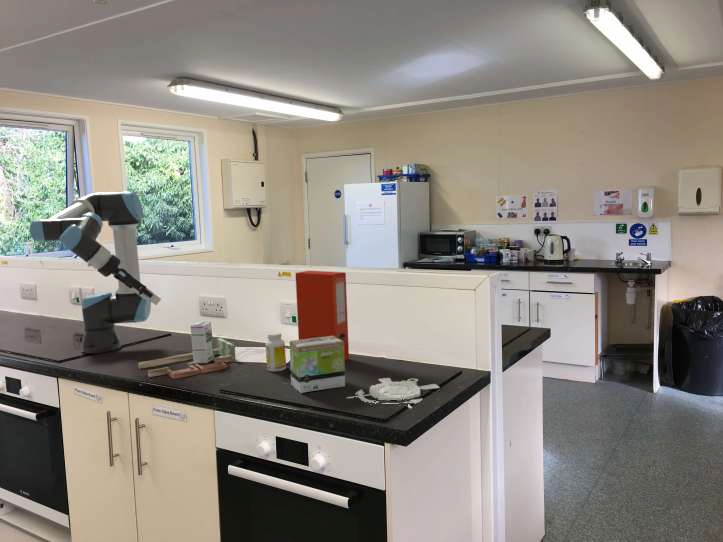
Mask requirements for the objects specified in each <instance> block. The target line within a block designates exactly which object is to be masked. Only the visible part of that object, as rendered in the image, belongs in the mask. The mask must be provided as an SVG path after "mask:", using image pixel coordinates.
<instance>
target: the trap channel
mask: <svg viewBox="0 0 723 542" xmlns="http://www.w3.org/2000/svg"><path fill="white" fill-rule="evenodd" d="M235 346H236V345H235V344H234V343H232V342H229V341H228V340H225V339H224V338H222V337H218V338H216V348H213V350H214V356H215V355H216V354H217V355H219V357H214V363H207V364H203V365H200V364H199V363H197V362H194V361H192V362H191V361H190V362H188V363H187V368H182V369H177V370H171V369H170V367H169V366H166V367H160V368H156V369H149V370H147V377H148V378H152V377H156V376H157V377H158V376H163V375H168V376H169V377H170V378H172V379H175V380H176V379H181V378H187V377H191V376H194V375H195V376H196V375H199V374H200V373H201V374H206V373H212V372H216V371H221V370H226V369H227V363H230V362H234V361H233V360H235V361H236V347H235ZM221 355H223V356H221ZM189 360H194V359H193V352H191V353H185V354H178V355H173V356H172V355H171V356H168V357H163V358H157V359H151V360H146V361H139V362H138V363H137V366H138V367H137V368H138V369H139V370H141V368H142V369H147V368H153V367H157V366H158V367H159V366H162V365H168V364H173V363H178V362H184V361H189ZM229 361H230V362H229ZM224 362H225V363H224Z"/></svg>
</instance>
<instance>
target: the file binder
mask: <svg viewBox="0 0 723 542" xmlns="http://www.w3.org/2000/svg"><path fill="white" fill-rule="evenodd" d="M346 274H347V273H346V272H341V271H340V272H339V271H322V270H304V271H299V272H298V271H297V272H295V290H296V291H295V292H296V310H297V312H296V313H297V315H296V316H297V331H298V335H297V336H298V340H302V339H310V338H318V337H326V336H335V337H336V338H338V339H340V340H342V341H343V342H344V358H345V361H348V360H349V359H350V351H349V350H350V349H349V325H348V301H347V300H348V299H347V297H348V296H347V277H346V276H347V275H346Z"/></svg>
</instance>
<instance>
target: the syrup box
mask: <svg viewBox="0 0 723 542" xmlns="http://www.w3.org/2000/svg"><path fill="white" fill-rule="evenodd" d="M189 327H190V336H191V345H192V348H191V350H192V353H193V359H192V360H193V362H197V364H209V363H210V362H211V361H213V360H215V355H214V350H213V349H214V341H213V331H212V322H211V321H197V322H196V323H193V324H191V325H190V326H189Z"/></svg>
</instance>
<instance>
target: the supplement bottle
mask: <svg viewBox="0 0 723 542" xmlns="http://www.w3.org/2000/svg"><path fill="white" fill-rule="evenodd" d="M267 339H268V340H267V341H265V357H266V369H267V371H269V372H274V373H276V372H277V373H278V372H283V371H284V370H286V368H287V362H286V361H287V360H286V344H285V341H284V339H282V333H281V332H280V331H278V332H277V331H273V332H269V333H267Z"/></svg>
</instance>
